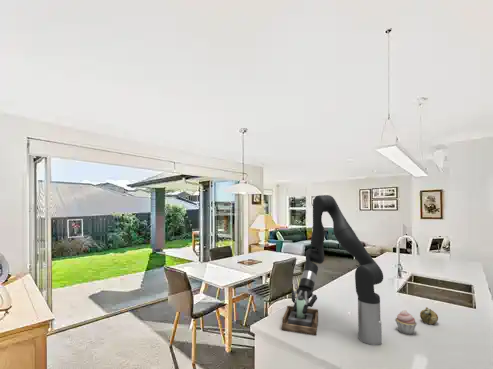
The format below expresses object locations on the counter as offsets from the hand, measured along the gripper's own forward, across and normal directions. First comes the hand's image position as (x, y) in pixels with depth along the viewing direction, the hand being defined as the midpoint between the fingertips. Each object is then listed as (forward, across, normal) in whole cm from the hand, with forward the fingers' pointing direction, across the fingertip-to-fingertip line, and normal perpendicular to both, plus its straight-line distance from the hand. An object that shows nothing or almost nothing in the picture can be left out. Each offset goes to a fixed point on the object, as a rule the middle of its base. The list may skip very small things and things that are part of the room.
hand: (299, 312), depth 134 cm
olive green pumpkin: (-25, +54, +36) cm, 70 cm away
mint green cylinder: (+2, 0, +5) cm, 5 cm away
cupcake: (-13, +45, +23) cm, 52 cm away
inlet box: (+4, 0, +6) cm, 7 cm away
